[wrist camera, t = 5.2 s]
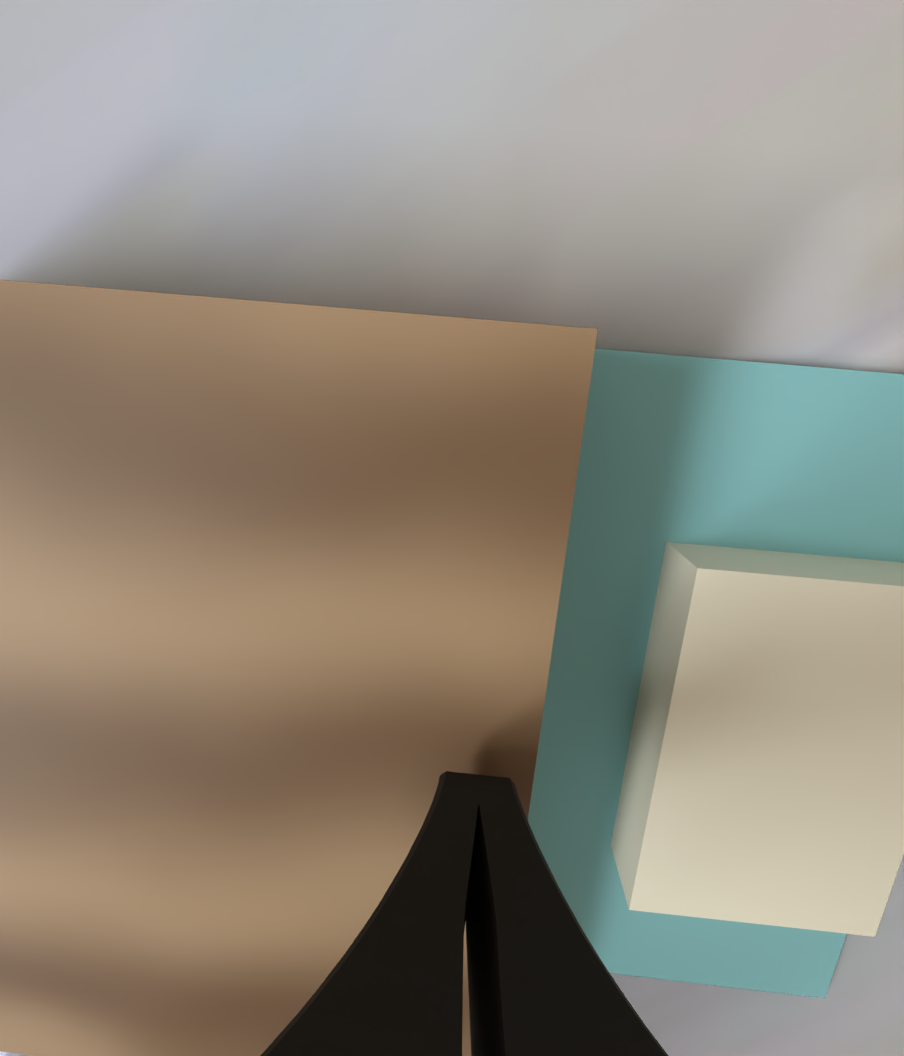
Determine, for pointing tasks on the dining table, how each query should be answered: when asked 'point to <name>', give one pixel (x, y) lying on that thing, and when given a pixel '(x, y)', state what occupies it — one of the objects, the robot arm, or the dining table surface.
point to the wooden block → (253, 637)
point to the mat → (630, 592)
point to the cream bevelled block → (767, 742)
